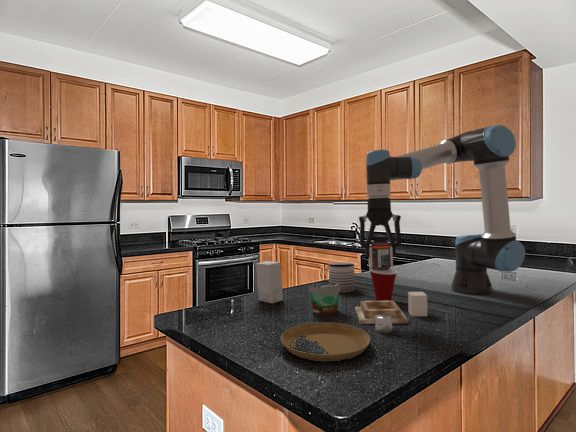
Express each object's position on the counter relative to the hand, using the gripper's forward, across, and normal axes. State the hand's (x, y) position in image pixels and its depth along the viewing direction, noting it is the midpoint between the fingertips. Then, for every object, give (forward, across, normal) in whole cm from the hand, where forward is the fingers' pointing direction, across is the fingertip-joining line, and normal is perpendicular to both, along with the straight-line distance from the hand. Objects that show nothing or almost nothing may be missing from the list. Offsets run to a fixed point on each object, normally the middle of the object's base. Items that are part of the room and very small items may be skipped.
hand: (380, 266), depth 126 cm
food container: (+17, -18, +5) cm, 25 cm away
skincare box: (+17, -40, +23) cm, 50 cm away
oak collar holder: (+17, -1, +1) cm, 17 cm away
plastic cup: (+17, +5, +20) cm, 27 cm away
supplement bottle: (+1, 0, 0) cm, 1 cm away
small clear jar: (+17, -2, -12) cm, 21 cm away
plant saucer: (+17, -20, -25) cm, 37 cm away
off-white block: (+17, +12, +2) cm, 21 cm away
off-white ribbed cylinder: (+17, -10, +40) cm, 44 cm away
